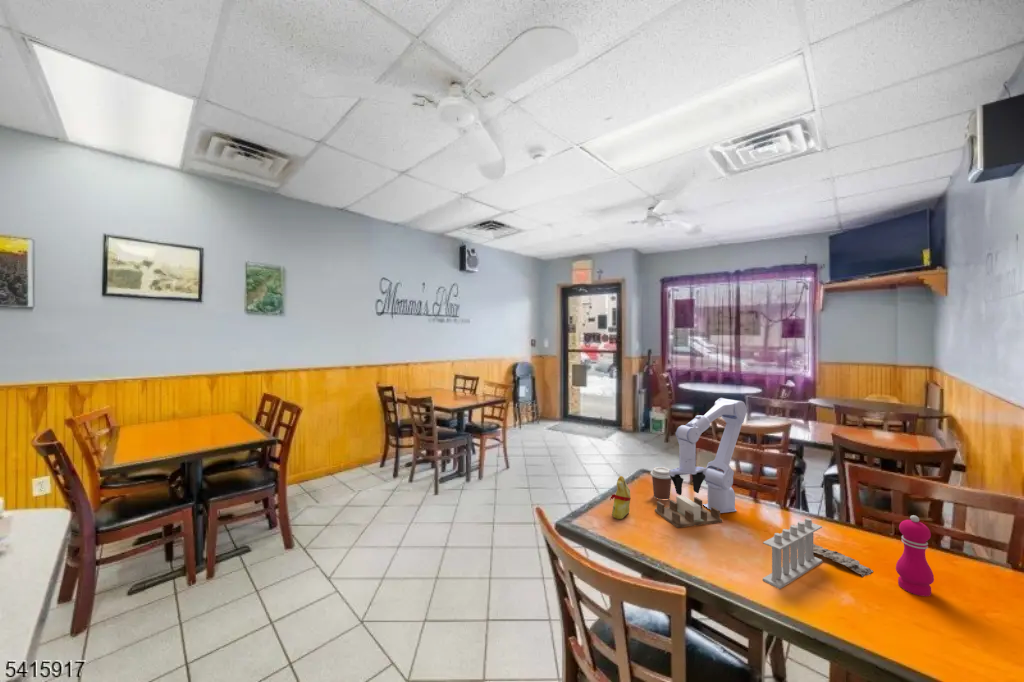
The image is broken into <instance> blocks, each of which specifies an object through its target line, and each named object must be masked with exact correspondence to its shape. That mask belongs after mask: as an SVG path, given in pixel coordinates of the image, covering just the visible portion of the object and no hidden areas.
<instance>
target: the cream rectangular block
mask: <svg viewBox="0 0 1024 682" xmlns="http://www.w3.org/2000/svg"><path fill="white" fill-rule="evenodd" d="M675 502H676V503H677V510H679V511H680V512H682V513H683V514H685V510H688V511H690V512H691V513H693V514H694V520H701V506H700V505H698V504H696V503H695V502H694V500H691V499H690V498H688V497H687V496H685V495H676V501H675Z"/></svg>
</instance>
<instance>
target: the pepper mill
mask: <svg viewBox="0 0 1024 682" xmlns="http://www.w3.org/2000/svg"><path fill="white" fill-rule="evenodd" d="M898 530H899V532H900V534H902V535H901V542H902V543H903V546H904V547H903V552H902V554H901V556H900V557H899V558H898V560H897V562H896V565H895V571H896V572H897V574H898V575H899V577H898V578H897V581H898V582H897V583H898V584H897V585H898V586H899V587H900V588H901V587H902V588H903V590H904V589H905V590H904V591H906V592H908V593H910V594H912V595H916V596H921V597H930V596H932V595H931V594H932V587H931V585H932V584H934V581H935V577H934V574H933V570H932V568H931V566H930V565H929V563H928V561H927V558H926V550H928V548H929V546H928V545H929V543H928V541H929V540H930V539H931V536H932V533H931V530H930V529H929V527H928V526H927V525H926V524H924V523H923V522H921V521H920V517H918V516H917V515H916V514H915V515H914V514H913V515H910V516H909V519H904V520H902V521H901V522H900V523H899V526H898ZM902 588H901V589H902Z"/></svg>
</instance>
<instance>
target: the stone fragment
mask: <svg viewBox="0 0 1024 682" xmlns="http://www.w3.org/2000/svg"><path fill="white" fill-rule="evenodd" d="M797 548H798V541H797ZM814 553H815V554H817V555H821V556H822V557H825V558H828V559H831V560H832V562H836V563H839V564H841V565H843V566H845V567H847V568H849V569H850V570H852V571H853V572H855V573H857V574H860V575H861V577H862V578H863V577H864V578H866V576H870V575H871V573H873V572H874V570H873V569H871V568H870V567H868V566H865V565H863V564H860V561H859V560H856V559H855V558H852V557H850V556H847V555H845V554H843V553H840V552H838V551H837V550H830V549H828V548H824V547H823V546H821V545H817V544H815V543H813V554H814Z"/></svg>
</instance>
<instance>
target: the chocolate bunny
mask: <svg viewBox="0 0 1024 682" xmlns="http://www.w3.org/2000/svg"><path fill="white" fill-rule="evenodd" d="M616 487H617V488H616V492H615V493H612V494H611V497H610V499H609V500H610V501H611V500H613V505H612V512H611V516H612V517H613V518H615V519H617V520H623V519H624V518H625V517H626V516H627V515H628V514H629V513H630V503H631V490H630V487H629V486H628V484H627V482H626V479H625V477H624V476H622V475H619V477H618V478H617V480H616Z"/></svg>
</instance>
